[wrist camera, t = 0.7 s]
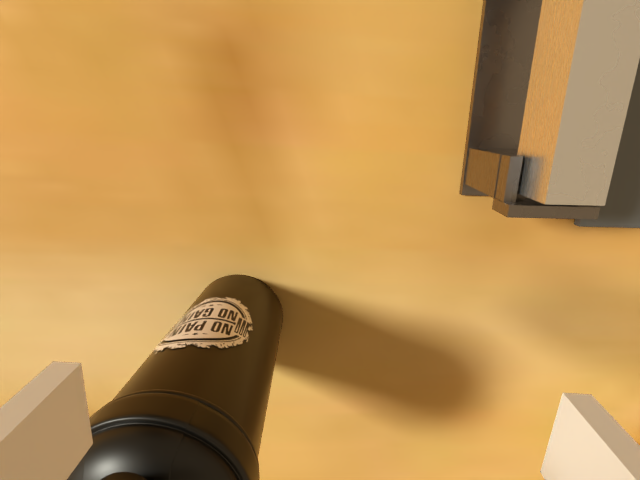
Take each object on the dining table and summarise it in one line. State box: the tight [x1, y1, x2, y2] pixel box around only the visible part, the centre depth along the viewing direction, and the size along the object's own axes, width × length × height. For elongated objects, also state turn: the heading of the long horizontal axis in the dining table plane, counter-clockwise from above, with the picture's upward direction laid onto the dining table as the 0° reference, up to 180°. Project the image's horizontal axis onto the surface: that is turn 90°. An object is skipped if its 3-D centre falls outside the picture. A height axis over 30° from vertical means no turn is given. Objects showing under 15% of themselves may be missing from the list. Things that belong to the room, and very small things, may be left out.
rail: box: [517, 0, 640, 206], centre depth 23 cm, size 18×4×4 cm, turn 179°
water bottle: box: [67, 275, 283, 480], centre depth 28 cm, size 10×10×23 cm
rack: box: [460, 0, 600, 219], centre depth 27 cm, size 21×6×10 cm, turn 179°
